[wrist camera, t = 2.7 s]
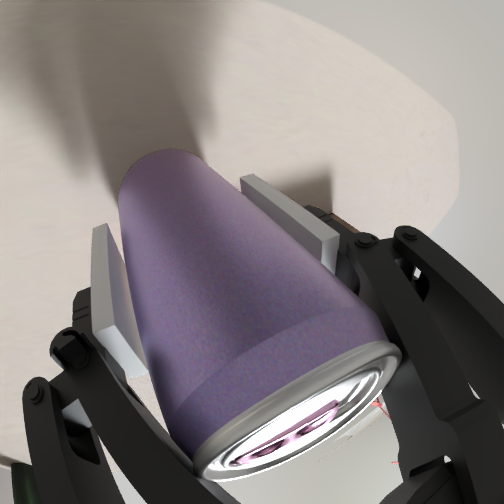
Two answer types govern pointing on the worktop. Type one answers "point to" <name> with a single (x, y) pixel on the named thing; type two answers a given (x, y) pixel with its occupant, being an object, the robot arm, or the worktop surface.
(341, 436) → the worktop surface
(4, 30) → the worktop surface
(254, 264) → the beverage can
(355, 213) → the worktop surface
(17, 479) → the potion bottle
